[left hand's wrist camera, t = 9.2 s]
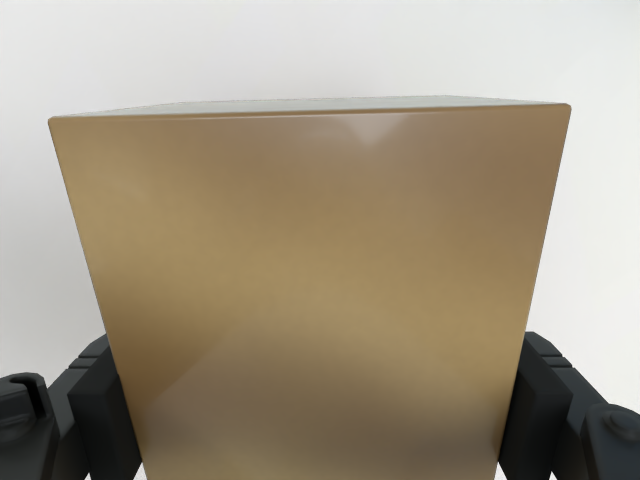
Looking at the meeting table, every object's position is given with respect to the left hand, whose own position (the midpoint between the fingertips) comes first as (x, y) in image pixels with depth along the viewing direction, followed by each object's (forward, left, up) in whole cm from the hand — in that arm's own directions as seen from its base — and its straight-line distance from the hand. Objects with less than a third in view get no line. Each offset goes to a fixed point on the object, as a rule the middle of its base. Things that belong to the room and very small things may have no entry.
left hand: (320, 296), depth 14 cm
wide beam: (-12, -22, -1) cm, 25 cm away
